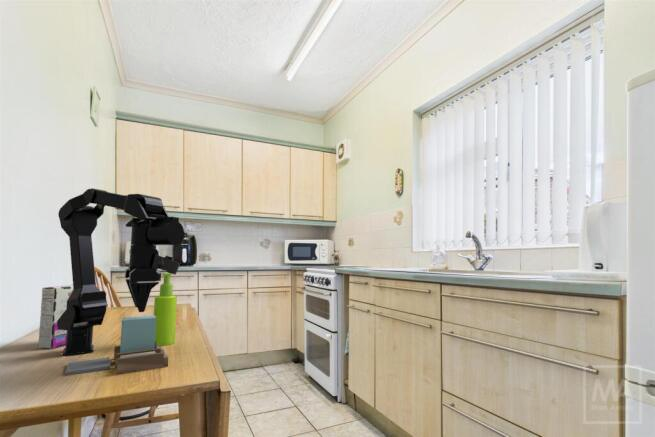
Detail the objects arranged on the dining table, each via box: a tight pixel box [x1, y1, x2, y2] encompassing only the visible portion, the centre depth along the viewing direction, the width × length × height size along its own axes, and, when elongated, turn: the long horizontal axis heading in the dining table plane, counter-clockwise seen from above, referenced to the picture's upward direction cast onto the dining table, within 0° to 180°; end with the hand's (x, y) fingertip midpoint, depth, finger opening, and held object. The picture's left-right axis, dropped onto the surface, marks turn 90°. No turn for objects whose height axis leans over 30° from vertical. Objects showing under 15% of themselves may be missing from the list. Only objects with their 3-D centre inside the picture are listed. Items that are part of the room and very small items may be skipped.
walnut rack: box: [113, 341, 169, 375], centre depth 82 cm, size 14×10×3 cm
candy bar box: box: [38, 284, 73, 350], centre depth 100 cm, size 11×5×16 cm, turn 168°
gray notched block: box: [120, 351, 156, 358], centre depth 78 cm, size 2×8×3 cm, turn 123°
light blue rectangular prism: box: [120, 314, 156, 353], centre depth 84 cm, size 4×7×10 cm, turn 123°
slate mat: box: [64, 356, 111, 376], centre depth 78 cm, size 8×8×1 cm
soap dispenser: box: [153, 272, 178, 347], centre depth 101 cm, size 6×7×20 cm
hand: (139, 309), depth 85 cm, fingers open, 9 cm apart
